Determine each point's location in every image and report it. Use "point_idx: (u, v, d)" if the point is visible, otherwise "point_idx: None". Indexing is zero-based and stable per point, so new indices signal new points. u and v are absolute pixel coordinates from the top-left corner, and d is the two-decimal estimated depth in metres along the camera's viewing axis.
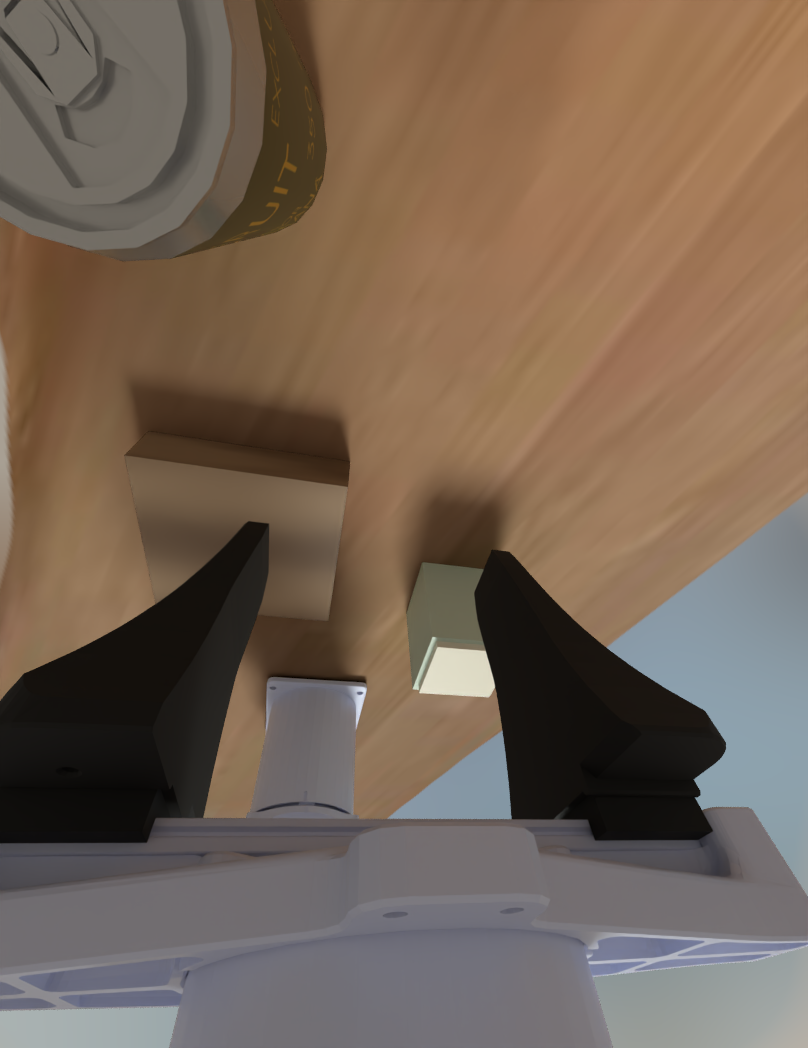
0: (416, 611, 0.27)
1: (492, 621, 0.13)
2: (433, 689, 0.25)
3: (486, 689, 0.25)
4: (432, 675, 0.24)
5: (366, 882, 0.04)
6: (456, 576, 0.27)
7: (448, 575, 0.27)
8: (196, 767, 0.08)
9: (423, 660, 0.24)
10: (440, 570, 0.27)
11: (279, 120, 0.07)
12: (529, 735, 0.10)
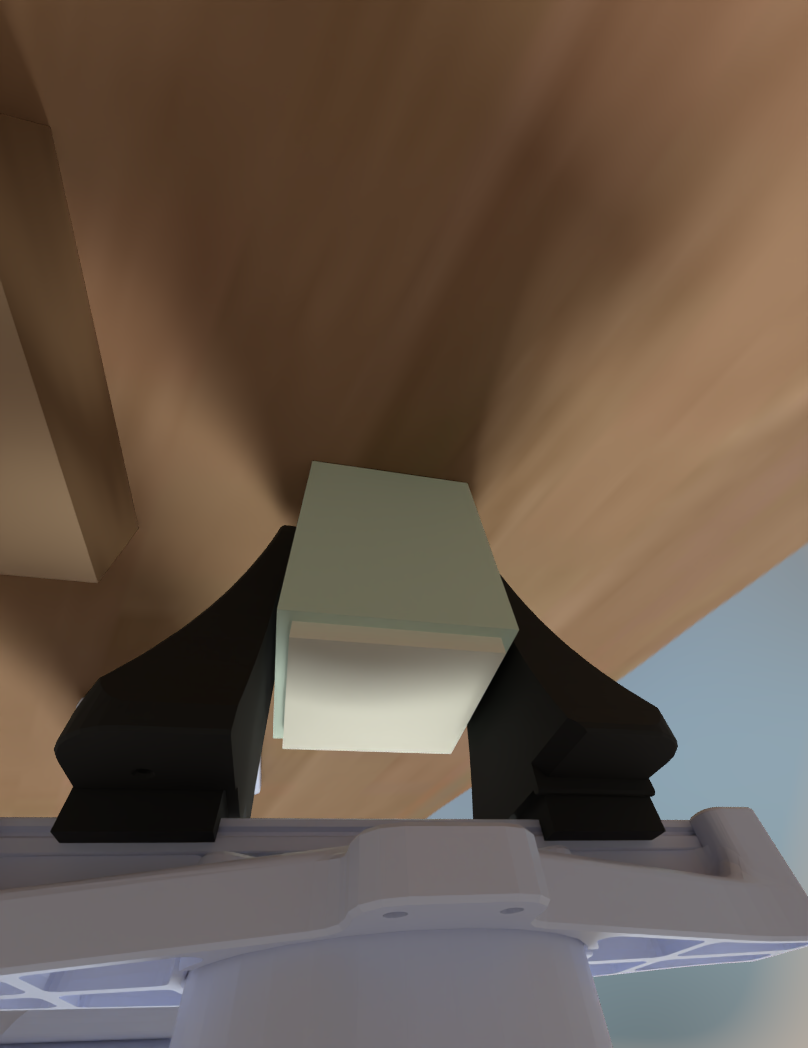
0: None
1: None
2: (315, 740, 0.10)
3: (442, 738, 0.11)
4: (301, 710, 0.09)
5: (366, 882, 0.04)
6: (382, 488, 0.12)
7: (364, 485, 0.12)
8: (249, 768, 0.08)
9: (275, 672, 0.09)
10: (348, 476, 0.12)
11: None
12: (489, 733, 0.10)
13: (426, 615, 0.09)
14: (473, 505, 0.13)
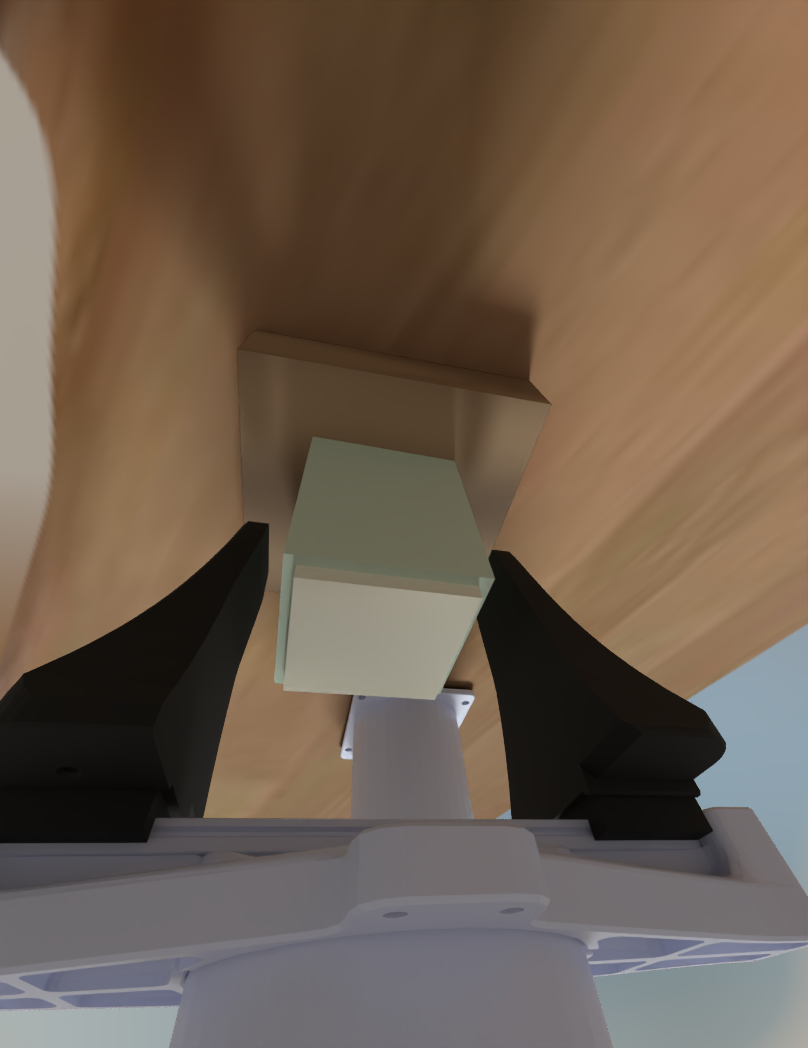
0: None
1: (492, 621, 0.13)
2: (313, 683, 0.12)
3: (427, 683, 0.12)
4: (301, 651, 0.11)
5: (366, 882, 0.04)
6: (375, 461, 0.14)
7: (360, 459, 0.13)
8: (196, 767, 0.08)
9: None
10: (346, 451, 0.14)
11: None
12: (529, 735, 0.10)
13: (413, 564, 0.10)
14: (458, 479, 0.14)
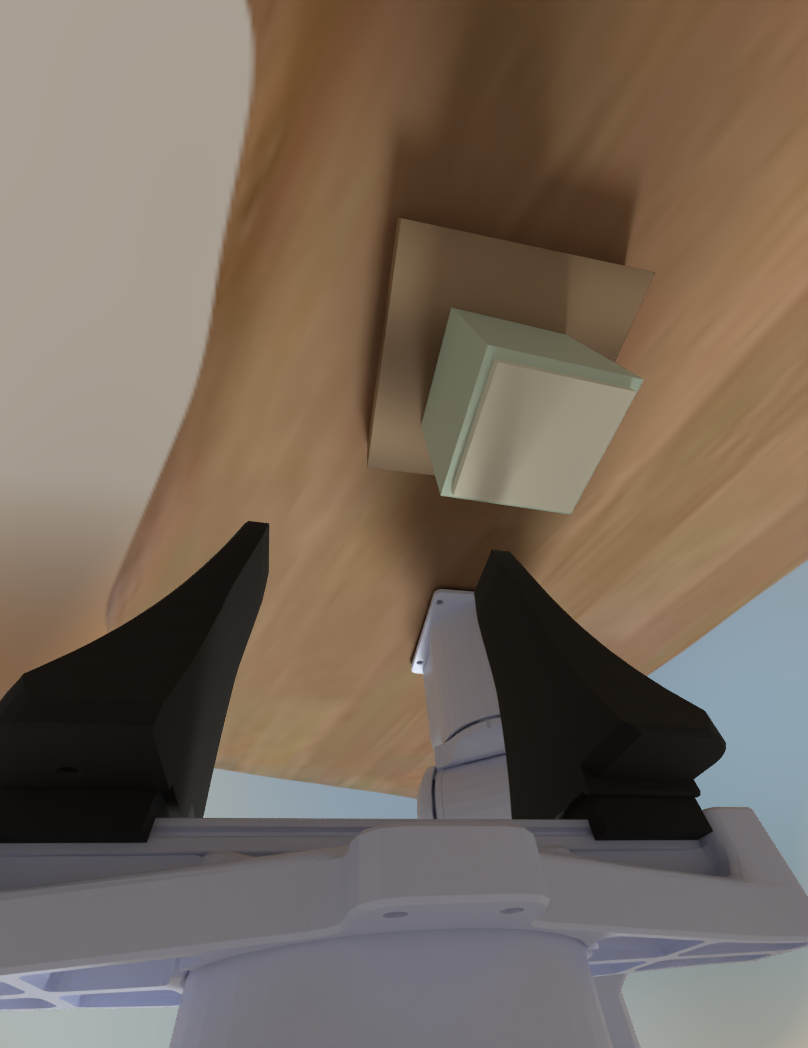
0: (442, 386, 0.16)
1: (492, 621, 0.13)
2: (479, 488, 0.14)
3: (570, 492, 0.14)
4: (481, 448, 0.13)
5: (366, 882, 0.04)
6: (509, 324, 0.16)
7: (496, 321, 0.16)
8: (196, 767, 0.08)
9: (464, 417, 0.13)
10: (482, 316, 0.16)
11: None
12: (529, 735, 0.10)
13: (581, 364, 0.12)
14: (577, 341, 0.16)
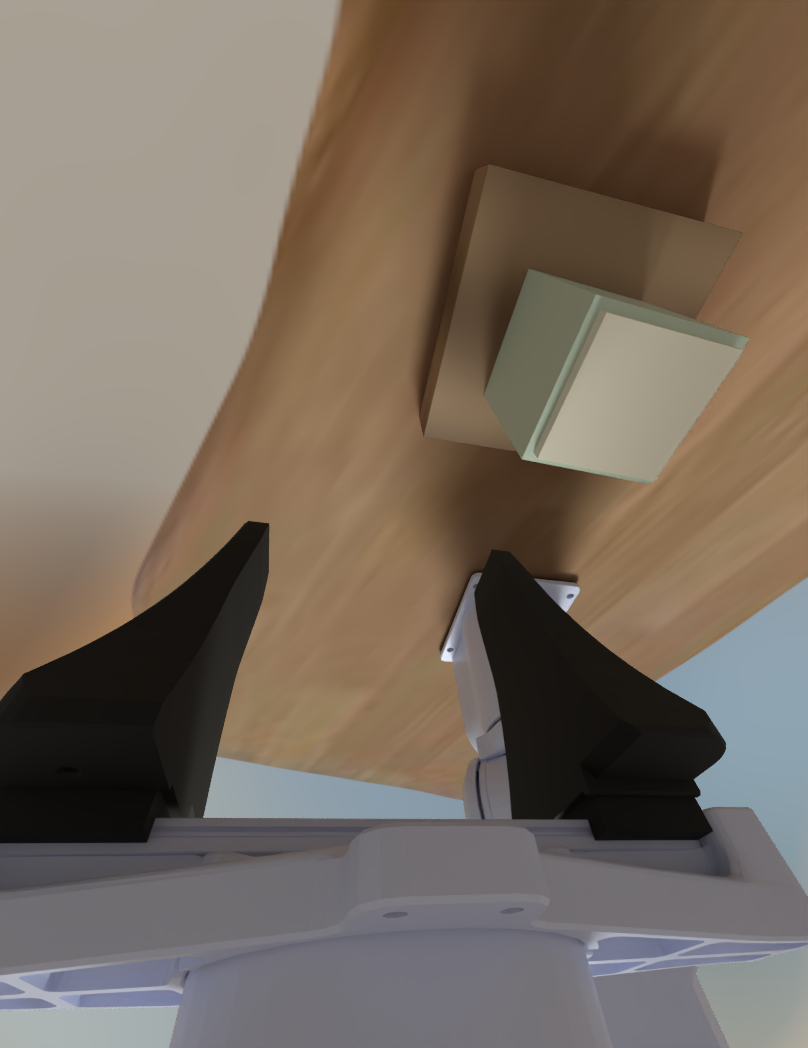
0: (518, 349, 0.16)
1: (492, 621, 0.13)
2: (564, 451, 0.13)
3: (657, 458, 0.14)
4: (573, 407, 0.13)
5: (366, 882, 0.04)
6: (590, 287, 0.15)
7: (577, 283, 0.15)
8: (196, 767, 0.08)
9: (559, 374, 0.12)
10: (562, 278, 0.16)
11: None
12: (529, 735, 0.10)
13: (686, 320, 0.12)
14: (658, 307, 0.16)
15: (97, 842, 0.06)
